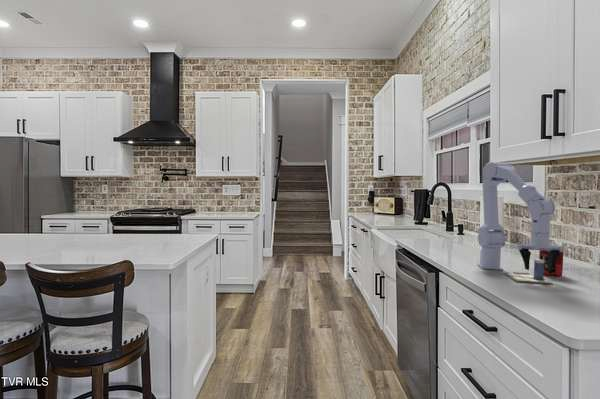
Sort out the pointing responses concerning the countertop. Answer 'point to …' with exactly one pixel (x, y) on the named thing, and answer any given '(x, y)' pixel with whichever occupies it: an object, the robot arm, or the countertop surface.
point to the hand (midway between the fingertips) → (538, 270)
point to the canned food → (557, 267)
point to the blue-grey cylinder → (538, 269)
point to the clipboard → (526, 278)
